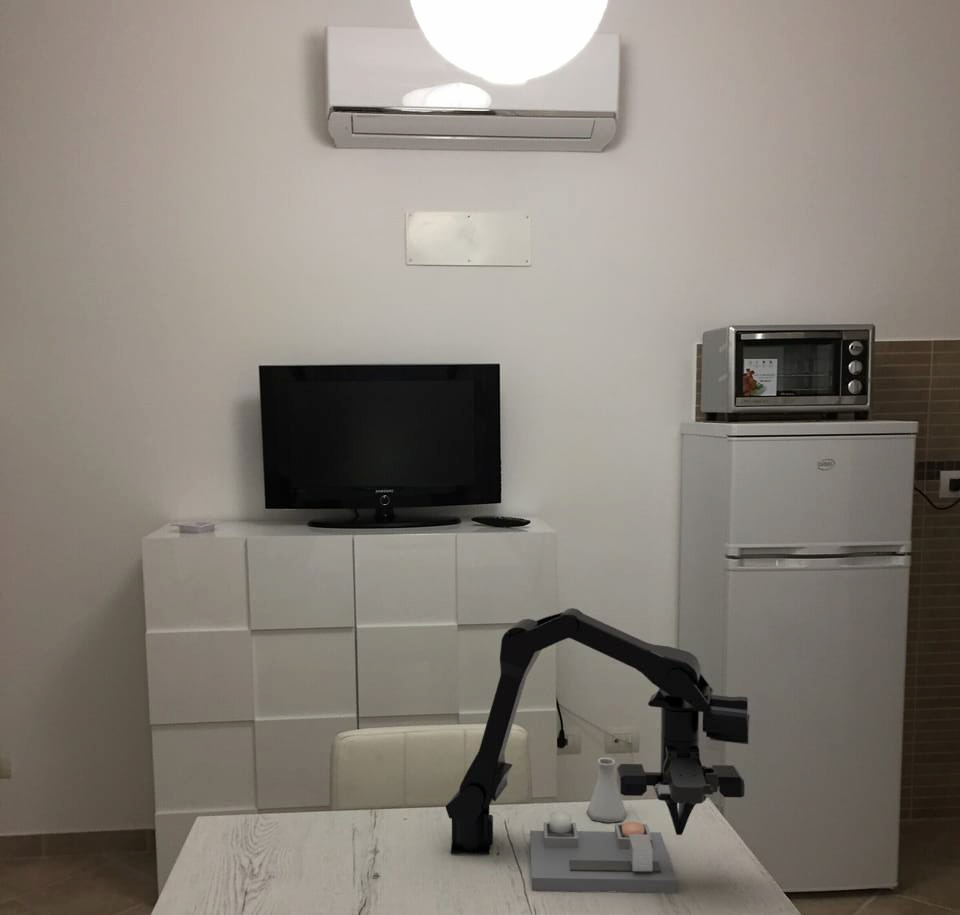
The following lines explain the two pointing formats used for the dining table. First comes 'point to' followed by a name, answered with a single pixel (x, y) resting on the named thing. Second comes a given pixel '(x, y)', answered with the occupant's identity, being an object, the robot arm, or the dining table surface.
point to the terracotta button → (632, 829)
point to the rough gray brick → (640, 852)
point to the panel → (596, 862)
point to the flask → (606, 795)
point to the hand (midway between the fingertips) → (678, 833)
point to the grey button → (560, 822)
